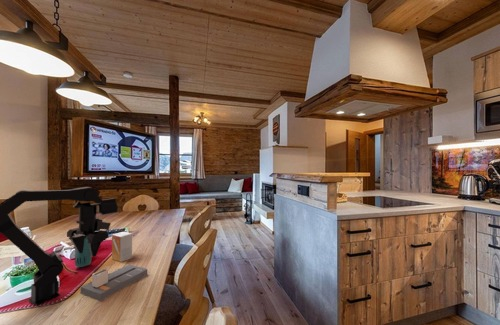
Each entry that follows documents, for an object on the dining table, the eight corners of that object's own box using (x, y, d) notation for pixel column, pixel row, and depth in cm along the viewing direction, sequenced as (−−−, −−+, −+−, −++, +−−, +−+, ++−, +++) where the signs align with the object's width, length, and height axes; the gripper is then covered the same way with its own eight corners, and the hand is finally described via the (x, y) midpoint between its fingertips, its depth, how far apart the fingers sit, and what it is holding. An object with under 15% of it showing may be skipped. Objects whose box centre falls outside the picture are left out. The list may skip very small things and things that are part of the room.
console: (100, 301, 75) (100, 293, 75) (80, 293, 80) (80, 286, 80) (147, 274, 93) (147, 268, 93) (129, 269, 98) (129, 264, 98)
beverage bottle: (89, 263, 105) (89, 223, 106) (93, 266, 101) (93, 225, 102) (72, 267, 100) (73, 226, 101) (76, 272, 96) (76, 228, 97)
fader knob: (97, 290, 78) (97, 275, 78) (92, 289, 79) (92, 273, 80) (107, 285, 82) (108, 270, 82) (103, 283, 83) (103, 268, 83)
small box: (111, 259, 110) (111, 234, 110) (123, 254, 115) (123, 231, 115) (120, 262, 106) (120, 236, 106) (132, 257, 111) (132, 233, 111)
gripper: (121, 214, 91) (121, 250, 90) (94, 211, 98) (94, 244, 98) (93, 221, 80) (93, 261, 80) (66, 216, 88) (65, 254, 87)
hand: (87, 254), depth 87 cm, fingers open, 9 cm apart
